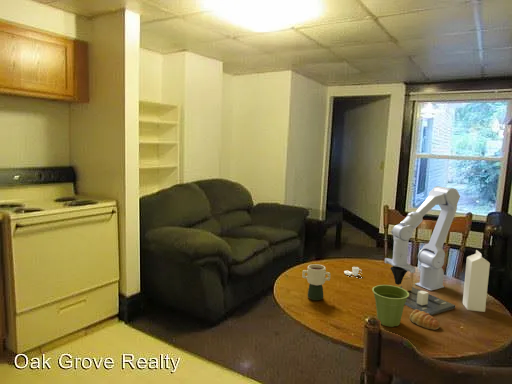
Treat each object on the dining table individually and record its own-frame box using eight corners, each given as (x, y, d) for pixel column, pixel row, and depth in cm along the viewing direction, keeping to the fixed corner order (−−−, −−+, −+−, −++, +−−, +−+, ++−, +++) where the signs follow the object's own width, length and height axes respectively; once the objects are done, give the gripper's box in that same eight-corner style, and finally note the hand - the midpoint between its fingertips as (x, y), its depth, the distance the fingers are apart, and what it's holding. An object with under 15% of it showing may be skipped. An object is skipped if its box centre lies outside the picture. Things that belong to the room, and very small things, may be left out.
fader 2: (422, 301, 138) (422, 290, 138) (427, 304, 136) (428, 292, 136) (416, 303, 137) (417, 291, 136) (422, 305, 135) (423, 294, 134)
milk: (467, 310, 135) (472, 253, 132) (462, 303, 141) (467, 248, 138) (485, 312, 134) (490, 254, 131) (479, 305, 140) (484, 250, 137)
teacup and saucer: (341, 275, 171) (342, 267, 170) (351, 271, 176) (351, 263, 176) (358, 280, 165) (358, 272, 164) (367, 276, 170) (367, 268, 169)
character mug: (329, 296, 146) (330, 265, 144) (329, 303, 139) (330, 271, 137) (302, 293, 148) (303, 263, 146) (300, 300, 141) (301, 268, 139)
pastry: (444, 327, 122) (444, 317, 122) (433, 333, 118) (433, 322, 118) (418, 316, 130) (418, 306, 129) (407, 321, 126) (407, 311, 125)
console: (407, 287, 156) (407, 284, 156) (455, 308, 137) (455, 304, 136) (381, 293, 149) (382, 290, 149) (428, 316, 130) (429, 312, 130)
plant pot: (367, 313, 131) (369, 283, 130) (401, 315, 130) (403, 285, 128) (374, 329, 119) (376, 297, 118) (411, 332, 118) (414, 299, 117)
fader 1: (407, 288, 152) (407, 277, 151) (411, 290, 150) (412, 279, 149) (402, 289, 150) (402, 278, 150) (406, 291, 148) (407, 280, 148)
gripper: (380, 249, 157) (378, 279, 158) (407, 259, 144) (405, 291, 146) (391, 247, 160) (390, 277, 162) (419, 256, 147) (417, 288, 149)
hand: (398, 283), depth 154 cm, fingers closed
